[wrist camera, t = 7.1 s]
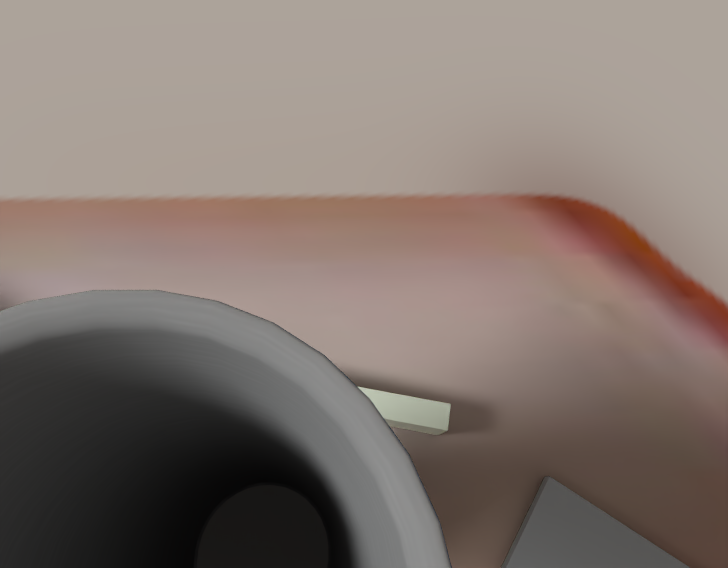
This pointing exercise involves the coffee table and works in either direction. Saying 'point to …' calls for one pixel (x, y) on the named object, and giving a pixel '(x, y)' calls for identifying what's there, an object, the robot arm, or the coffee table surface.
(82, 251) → the coffee table surface
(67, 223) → the coffee table surface
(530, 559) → the mat
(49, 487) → the cup
